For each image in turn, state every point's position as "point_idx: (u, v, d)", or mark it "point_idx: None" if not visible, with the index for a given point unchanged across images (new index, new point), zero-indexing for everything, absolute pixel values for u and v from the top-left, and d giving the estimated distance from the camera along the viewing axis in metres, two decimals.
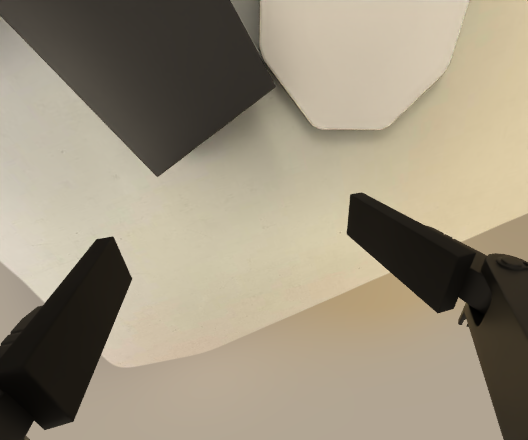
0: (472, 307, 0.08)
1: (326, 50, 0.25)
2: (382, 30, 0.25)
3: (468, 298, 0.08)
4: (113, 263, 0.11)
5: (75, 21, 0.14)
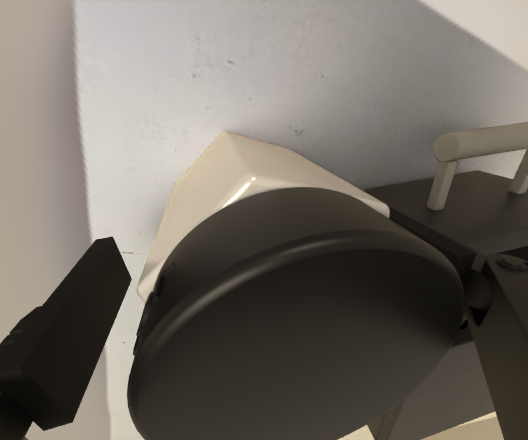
0: (473, 307, 0.08)
1: None
2: None
3: (469, 298, 0.08)
4: (113, 263, 0.11)
5: (446, 382, 0.15)
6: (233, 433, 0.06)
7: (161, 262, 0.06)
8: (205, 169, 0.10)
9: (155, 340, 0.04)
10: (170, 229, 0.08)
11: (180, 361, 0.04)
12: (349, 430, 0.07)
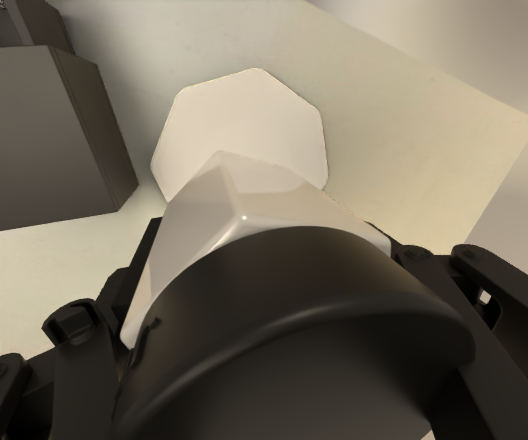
0: None
1: None
2: None
3: None
4: None
5: None
6: None
7: (146, 306, 0.06)
8: (197, 194, 0.09)
9: (129, 426, 0.03)
10: (158, 263, 0.07)
11: None
12: None
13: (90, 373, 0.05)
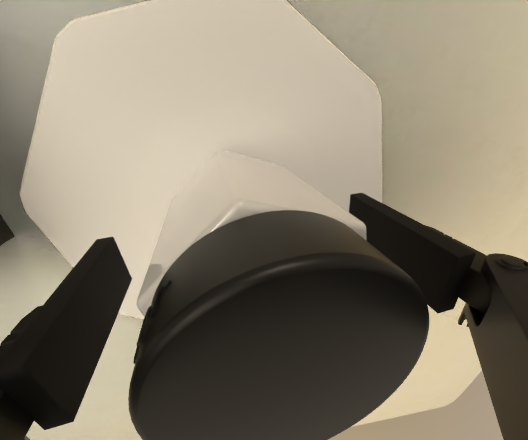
0: (473, 307, 0.08)
1: (160, 228, 0.17)
2: None
3: (468, 298, 0.08)
4: (113, 263, 0.11)
5: None
6: (224, 434, 0.06)
7: (159, 278, 0.07)
8: (200, 188, 0.11)
9: (153, 349, 0.04)
10: (167, 246, 0.08)
11: (175, 368, 0.05)
12: (334, 432, 0.08)
13: None
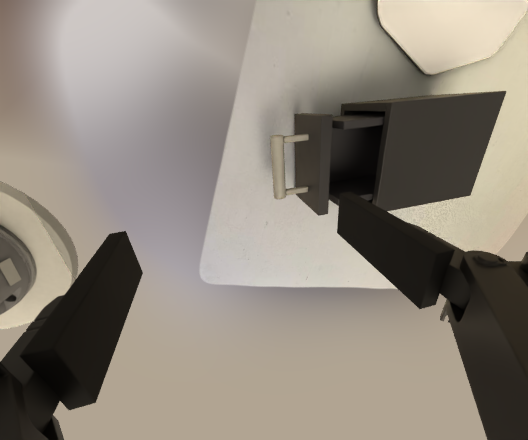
0: (453, 303, 0.09)
1: (460, 9, 0.27)
2: None
3: (449, 295, 0.09)
4: (126, 256, 0.11)
5: (411, 183, 0.26)
6: None
7: None
8: None
9: None
10: None
11: None
12: None
13: None
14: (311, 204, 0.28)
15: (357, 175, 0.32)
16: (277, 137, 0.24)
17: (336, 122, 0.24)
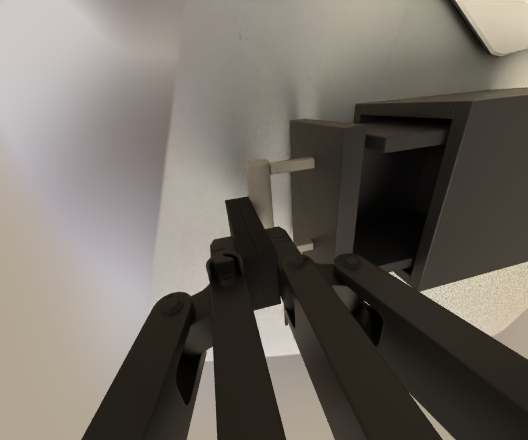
0: (288, 308, 0.09)
1: None
2: None
3: (283, 302, 0.09)
4: None
5: (482, 242, 0.15)
6: None
7: None
8: None
9: None
10: None
11: None
12: None
13: (235, 311, 0.07)
14: None
15: (386, 212, 0.21)
16: (257, 166, 0.13)
17: (368, 137, 0.13)
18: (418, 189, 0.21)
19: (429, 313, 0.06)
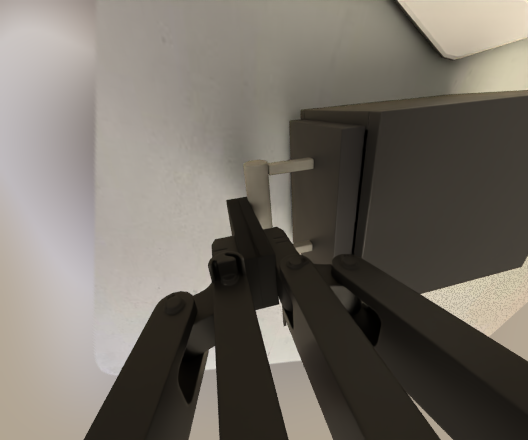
0: (287, 309, 0.09)
1: None
2: None
3: None
4: None
5: (421, 260, 0.14)
6: None
7: None
8: None
9: None
10: None
11: None
12: None
13: (237, 311, 0.07)
14: None
15: None
16: (255, 167, 0.13)
17: None
18: None
19: (427, 313, 0.06)
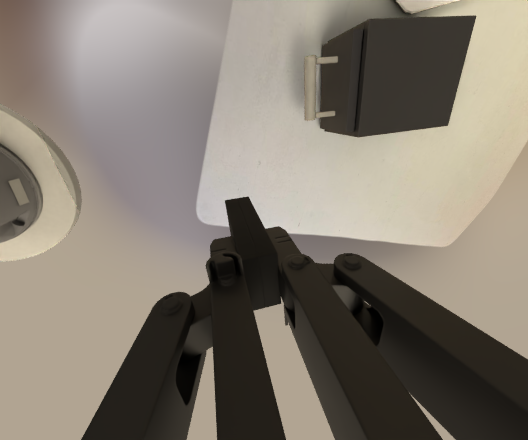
0: (288, 308, 0.09)
1: None
2: None
3: None
4: None
5: (391, 107, 0.28)
6: None
7: None
8: None
9: None
10: None
11: None
12: None
13: (235, 311, 0.07)
14: (338, 126, 0.31)
15: None
16: (311, 56, 0.27)
17: None
18: None
19: (429, 313, 0.06)
